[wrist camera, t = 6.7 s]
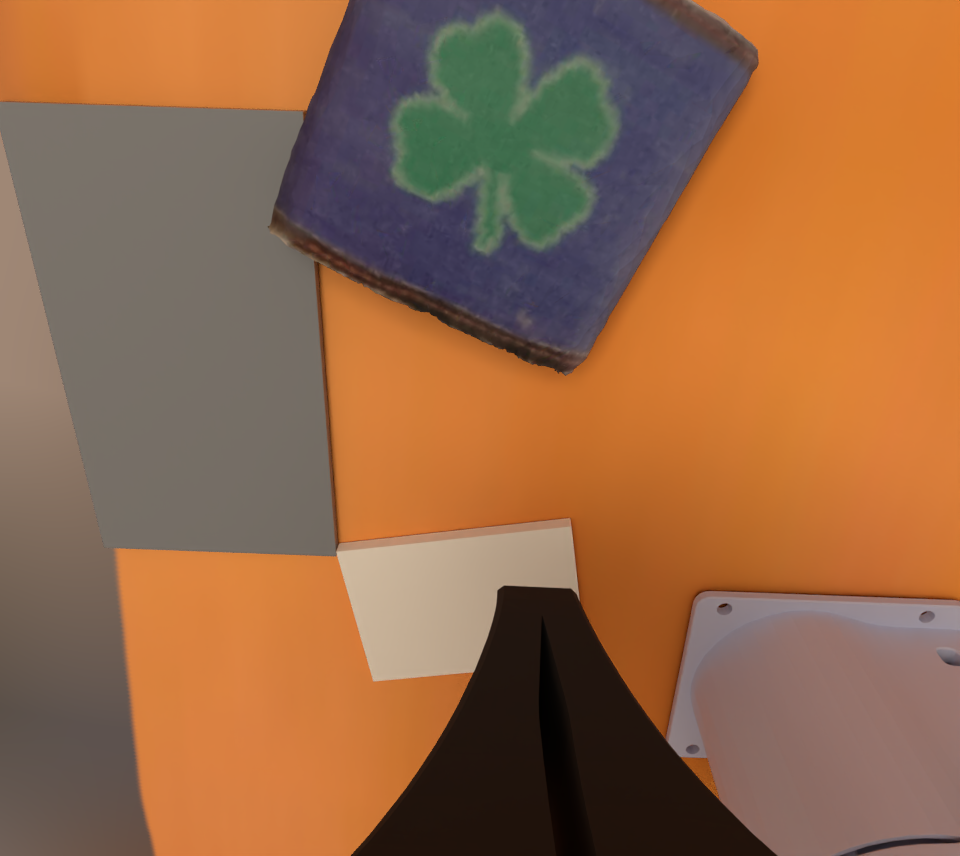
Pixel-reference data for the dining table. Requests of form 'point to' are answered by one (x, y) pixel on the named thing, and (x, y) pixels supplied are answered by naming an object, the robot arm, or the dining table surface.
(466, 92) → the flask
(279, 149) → the board
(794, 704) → the robot arm
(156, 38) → the dining table surface
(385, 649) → the napkin
